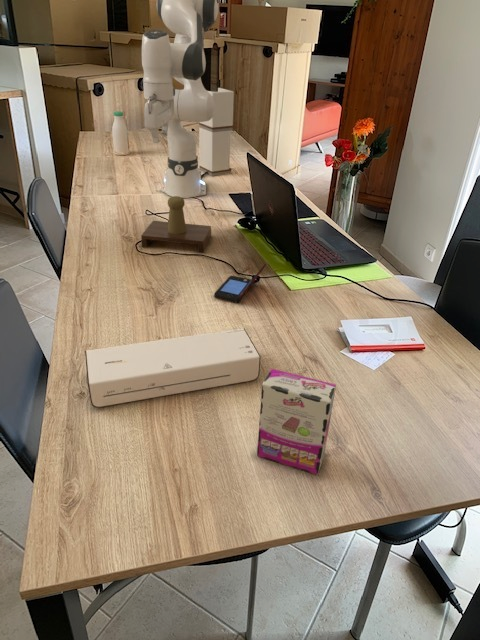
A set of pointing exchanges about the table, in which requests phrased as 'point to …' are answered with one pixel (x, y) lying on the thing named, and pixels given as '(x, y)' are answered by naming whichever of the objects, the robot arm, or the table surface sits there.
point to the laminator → (170, 367)
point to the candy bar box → (294, 420)
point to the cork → (176, 215)
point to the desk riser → (192, 234)
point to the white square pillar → (217, 135)
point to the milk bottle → (120, 134)
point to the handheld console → (235, 288)
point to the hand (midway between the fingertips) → (160, 139)
